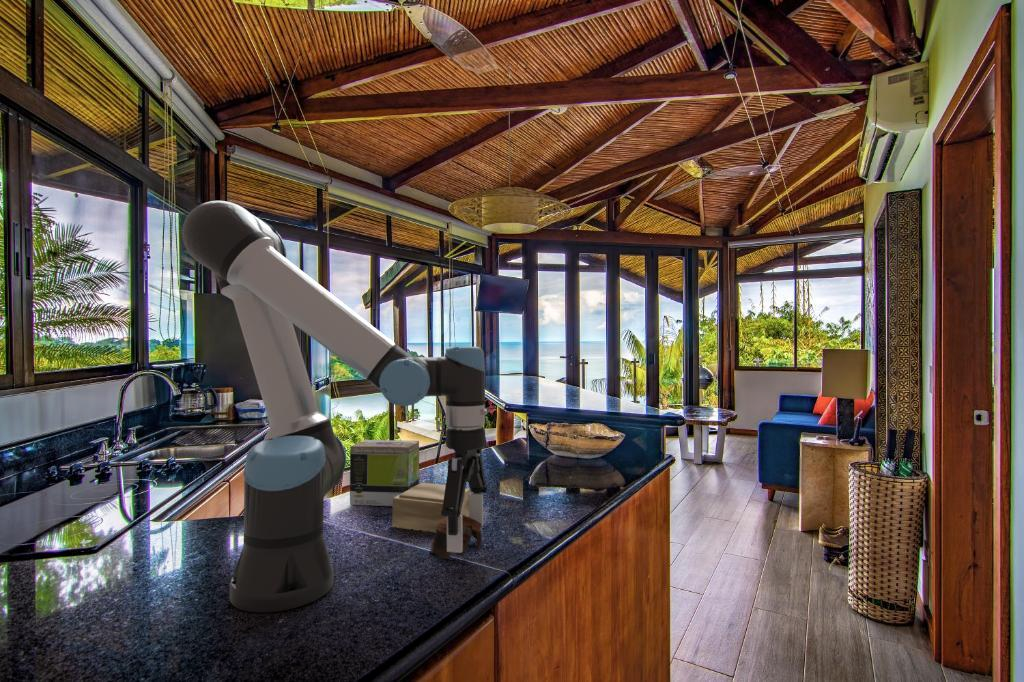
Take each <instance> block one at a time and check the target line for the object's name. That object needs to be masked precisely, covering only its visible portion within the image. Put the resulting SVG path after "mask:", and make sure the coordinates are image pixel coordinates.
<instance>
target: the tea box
mask: <svg viewBox="0 0 1024 682" xmlns="http://www.w3.org/2000/svg"><path fill="white" fill-rule="evenodd" d="M349 451H350V452H349V455H350V456H349V461H350V462H349V505H350V506H370V505H371V506H374V507H375V506H376V507H377V506H379V507H393V498H394V497H396V496H398V495H400V494H401V493H403V492H405V491H407V490H409V489H411V488H413V487H414V486H416V485H418V484H420V441H419V440H391V439H390V440H386V439H384V440H383V439H382V440H381V439H378V440H377V439H364V440H362V441H360V442H357V443H355V444H353V445H350V449H349Z"/></svg>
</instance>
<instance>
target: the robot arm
mask: <svg viewBox="0 0 1024 682" xmlns="http://www.w3.org/2000/svg"><path fill="white" fill-rule="evenodd" d="M181 236H182V241H183V244H184V246H185V248H186V251H187V252H188V254H189V255H190V256H191V257H192V258H193V259H194V260H195V261H196V262H197V263H199V264H200V265H202V266H204V267H205V268H207V269H208V270H210V271H212V272H213V273H214V274H215V278H216V281H217V284H218V288H219V292H220V293H221V295H223V296H225V297H226V298H229V299H230V300H232V302H233V305H234V309H235V312H236V314H237V315H236V316H237V319H238V322H239V325H240V328H241V332H242V336H243V338H244V342H245V345H246V348H247V352H248V355H249V358H250V363H251V366H252V369H253V372H254V376H255V379H256V383H257V385H258V389H259V392H260V395H261V399H262V402H263V406H264V409H265V412H266V415H267V419H268V422H269V423H268V424H269V429H268V431H267V432H266V434H265V436H264V440H262V441H260V442H257V443H256V444H254V445H253V446H252V447H251V448H250V449H249V450H248V451H247V453H246V457H245V464H244V467H243V468H244V469H243V477H244V480H243V481H244V492H243V493H244V494H243V495H244V497H243V498H244V499H243V501H244V503H243V544H242V550H241V552H240V554H239V558H238V560H237V562H236V566H235V568H234V572H233V575H232V577H231V580H230V583H229V602H230V604H231V605H232V606H233V607H234V608H236V609H239V610H241V611H245V612H249V613H273V612H282V611H288V610H291V609H296V608H299V607H304V606H305V605H308V604H310V603H313V602H315V601H317V600H319V599H321V598H323V596H325V595H327V594H328V593H329V592H330V590H331V589H332V587H333V586H334V573H335V572H334V566H333V563H332V562H331V558H330V554H329V551H328V547H327V545H326V541H325V538H324V507H325V506H324V504H325V503H324V502H325V497H326V496H327V495H328V493H329V492H330V491H331V490H332V489H334V488H335V487H336V485H337V484H338V483H339V482H340V480H341V478H342V476H344V475H343V474H344V471H345V468H346V465H347V464H346V463H347V452H346V448H345V446H344V444H343V443H342V441H341V439H340V438H339V437H338V436H337V435H335V432H334V430H333V429H334V428H333V425H332V422H331V418H330V417H329V416H327V415H326V414H324V413H322V412H320V411H319V408H318V406H317V402H316V399H315V395H314V394H315V393H314V392H313V388H312V384H311V381H310V377H309V374H308V370H307V368H306V365H305V362H304V357H303V354H302V351H301V347H300V344H299V341H298V337H297V333H296V330H295V327H294V326H296V327H297V328H298V329H300V330H301V331H303V332H304V333H305V334H307V336H309V337H310V338H311V339H313V340H314V341H316V342H317V343H319V344H320V345H321V346H322V347H324V348H325V349H327V350H328V351H329V352H330V353H332V354H333V355H334V356H336V357H337V358H338V359H339V360H341V361H342V362H343V363H345V364H346V365H348V367H350V368H351V369H353V370H354V371H355V372H357V374H359V375H360V376H362V377H363V378H364V379H366V380H367V381H368V382H369V383H370V384H371V385H373V386H374V387H375V388H377V389H378V390H379V391H380V392H381V394H382V395H383V397H384V398H385V399H386V400H387V401H388V402H389V403H390V404H392V405H395V406H399V407H408V406H413V405H416V404H418V403H419V402H420V401H421V400H423V399H424V398H425V397H445V425H446V426H447V428H446V430H445V447H446V448H447V449H450V450H452V451H454V457H453V458H448V461H447V476H446V481H445V485H446V487H445V494H444V501H443V508H442V511H441V515H442V516H447V552H451V553H454V552H457V553H462V551H463V525H462V515H460V514H461V508H462V503H463V498H464V493H465V488H467V483H468V486H469V487H468V488H470V490H471V493H470V494H469V517H470V518H472V519H474V520H476V521H478V522H479V523H481V524H482V526H481V528H482V527H483V526H484V493H487V492H488V487H487V482H486V475H485V469H484V468H485V467H484V464H483V463H484V462H483V456H482V450H483V449H482V448H484V447H485V445H486V429H485V427H484V425H485V423H486V415H488V410H487V409H485V408H486V405H485V404H486V401H485V400H486V368H485V367H486V365H485V364H486V363H485V352H484V350H483V348H481V347H479V346H448V347H446V348H445V353H444V356H437V357H432V356H431V357H425V356H422V357H421V356H419V357H418V356H417V357H413V356H412V355H411V354H410V353H408V352H407V351H406V350H404V348H402V347H401V346H399V345H397V344H396V343H395V342H394V341H393V340H392V339H390V338H389V337H387V336H386V335H385V334H384V333H382V332H381V330H379V329H378V328H376V327H374V326H373V325H372V324H371V323H370V322H368V321H367V320H366V319H364V318H363V317H362V316H361V315H359V314H358V313H357V312H355V311H354V310H353V309H352V308H351V307H349V306H348V305H346V304H345V303H344V302H343V301H341V300H340V299H339V298H337V297H336V296H335V295H333V294H332V293H331V292H330V291H328V289H326V288H325V287H323V286H322V285H321V284H319V282H317V281H316V280H314V279H313V278H312V277H310V276H309V275H308V274H306V273H305V272H304V271H303V270H301V269H300V268H299V267H298V266H297V265H295V264H293V262H291V261H290V260H289V259H287V249H286V246H285V243H284V241H283V238H282V237H281V235H280V234H279V233H278V231H277V230H276V229H275V228H274V227H273V226H272V225H271V224H269V223H268V222H266V221H265V220H263V219H261V218H258V217H256V216H255V215H254V214H252V213H251V212H249V211H248V210H247V209H246V208H244V207H242V206H240V205H239V204H236V203H234V202H230V201H225V200H211V201H207V202H204V203H200V204H199V205H198V206H195V207H194V208H193V209H192V210H191V211H190V212H188V214H187V216H186V217H185V219H184V221H183V225H182V229H181ZM451 508H453V509H451Z"/></svg>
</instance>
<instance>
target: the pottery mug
mask: <svg viewBox="0 0 1024 682" xmlns="http://www.w3.org/2000/svg"><path fill="white" fill-rule="evenodd" d="M460 515H462V514H460ZM462 525H463V551H462V553H457V552H453V553H454V554H455V555H456V556H462V555H465V554H466V552H467V550H468V547H469V543H470V541H471V539H472V537H473V538H474V539H476V542H475V543H476V545H475V546H476V547H477V548H479V547H480V546H481V544H482V532H481V528H482V527H483V526H482V524H481V523H479V522H478V521H476V520H474V519H472V518H470V517H468V516H465V515H462ZM481 526H482V527H481ZM434 534H435V535H434V538H433V539H432V540H431V543H430V553H433V554H434V555H436V556H438V557H441V558H444V559H447V560H450V558H451V554H452V552H447V516H446V517H445V518H443V519H442V520H441V521H440V522H439V523H438V525H437V529H436V532H434Z"/></svg>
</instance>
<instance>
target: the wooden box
mask: <svg viewBox="0 0 1024 682" xmlns="http://www.w3.org/2000/svg"><path fill="white" fill-rule="evenodd" d="M445 487H446V484H439V483H429V482H421V483H420V482H419V484H418V485H416V486H414V487H413V488H411V489H409V490H407V491H405V492H403V493H401V494H400V495H398V496H396V497H394V498H393V506H392V519H391V521H392V523H391V526H392V528H395V527H396V528H397V529H405V530H411V529H413V530H412V531H419V530H422V531H421V532H427V531H430V532H429V533H435V532H436V529H437V525H438V523H439V522H440V521H441V520H442V519H443V518H445V517H446V516H442V515H441V511H442V508H443V501H444V494H445ZM470 493H472V492H471V490H470V487H466V488H465V493H464V498H463V503H462V508H461V514H462V515H465V516H468V517H469V494H470ZM451 509H453V508H451Z"/></svg>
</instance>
